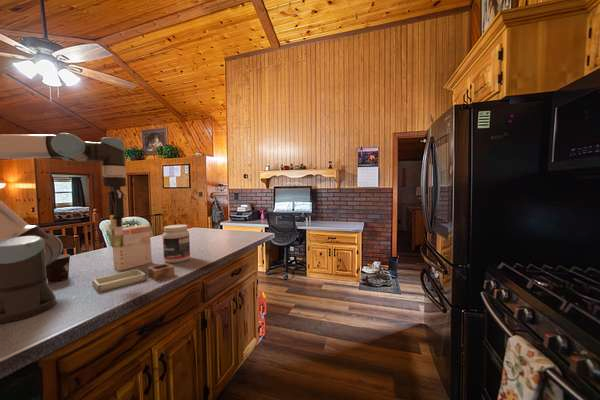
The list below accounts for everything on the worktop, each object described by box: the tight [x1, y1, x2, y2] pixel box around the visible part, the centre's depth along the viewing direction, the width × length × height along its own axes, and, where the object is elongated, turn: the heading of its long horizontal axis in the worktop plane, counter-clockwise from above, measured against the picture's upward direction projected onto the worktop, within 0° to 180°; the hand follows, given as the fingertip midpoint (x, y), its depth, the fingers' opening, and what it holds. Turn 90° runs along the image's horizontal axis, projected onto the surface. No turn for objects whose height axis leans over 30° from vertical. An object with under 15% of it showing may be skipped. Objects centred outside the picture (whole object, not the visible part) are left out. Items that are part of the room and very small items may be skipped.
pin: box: [109, 215, 124, 249], centre depth 103 cm, size 4×4×13 cm
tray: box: [91, 268, 147, 293], centre depth 104 cm, size 16×11×2 cm
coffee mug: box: [46, 254, 71, 284], centre depth 110 cm, size 12×9×10 cm
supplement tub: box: [162, 224, 191, 264], centre depth 134 cm, size 13×13×18 cm
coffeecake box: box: [112, 224, 153, 271], centre depth 126 cm, size 15×7×20 cm, turn 144°
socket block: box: [147, 262, 175, 281], centre depth 111 cm, size 8×8×4 cm
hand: (117, 234), depth 103 cm, fingers closed on pin, 4 cm apart
